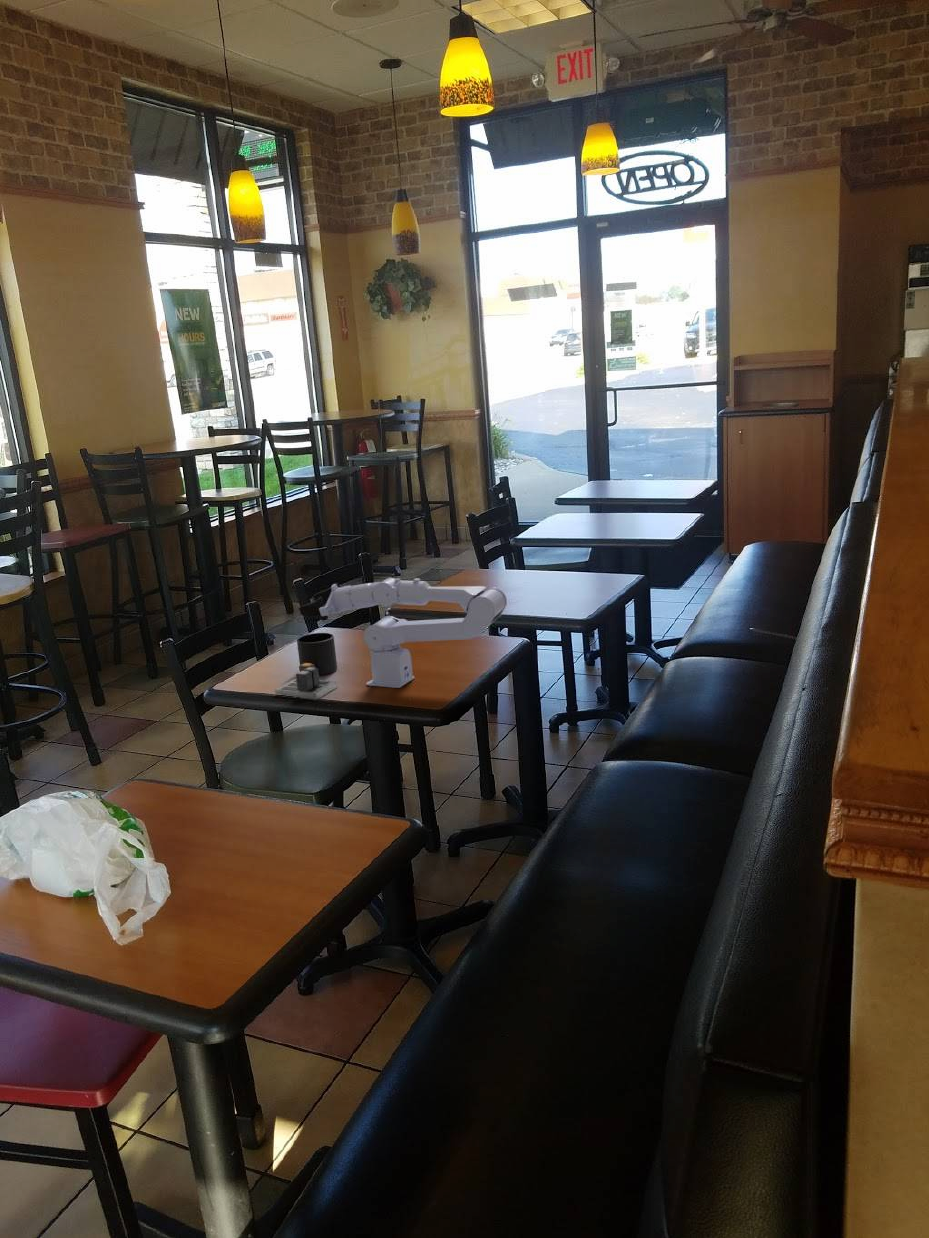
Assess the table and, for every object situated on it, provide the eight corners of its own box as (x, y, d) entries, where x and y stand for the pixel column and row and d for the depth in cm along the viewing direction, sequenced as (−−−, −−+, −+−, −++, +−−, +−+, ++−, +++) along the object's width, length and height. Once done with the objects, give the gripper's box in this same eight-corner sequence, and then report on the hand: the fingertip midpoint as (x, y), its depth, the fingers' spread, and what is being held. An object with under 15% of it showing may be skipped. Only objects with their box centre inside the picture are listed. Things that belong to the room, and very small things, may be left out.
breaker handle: (316, 679, 236) (314, 663, 235) (311, 682, 234) (309, 666, 233) (305, 678, 237) (303, 662, 236) (300, 681, 235) (298, 665, 234)
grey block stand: (337, 687, 234) (334, 663, 233) (316, 699, 227) (313, 675, 225) (297, 683, 240) (294, 660, 238) (275, 695, 232) (272, 671, 230)
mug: (345, 662, 254) (342, 629, 252) (330, 676, 243) (326, 642, 241) (312, 662, 256) (308, 630, 254) (295, 677, 245) (291, 643, 243)
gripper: (362, 571, 237) (315, 579, 243) (337, 593, 225) (288, 601, 230) (370, 597, 240) (324, 604, 245) (346, 620, 227) (298, 628, 232)
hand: (307, 605), depth 238 cm, fingers open, 7 cm apart
